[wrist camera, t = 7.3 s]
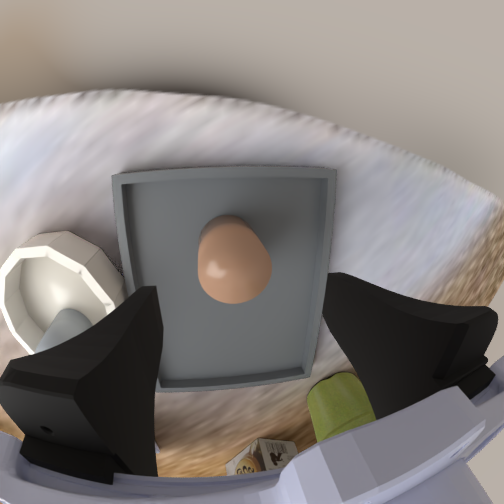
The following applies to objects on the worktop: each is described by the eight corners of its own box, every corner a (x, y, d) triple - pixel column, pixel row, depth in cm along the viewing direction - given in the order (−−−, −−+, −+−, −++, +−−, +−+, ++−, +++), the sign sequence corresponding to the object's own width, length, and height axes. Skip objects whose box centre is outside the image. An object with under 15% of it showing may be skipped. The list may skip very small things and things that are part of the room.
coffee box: (260, 466, 32) (284, 550, 17) (223, 463, 30) (241, 556, 15) (296, 440, 30) (332, 536, 15) (257, 436, 28) (288, 547, 13)
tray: (304, 366, 24) (310, 377, 23) (157, 380, 22) (155, 392, 21) (327, 167, 18) (336, 169, 16) (118, 173, 16) (111, 175, 14)
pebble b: (255, 267, 19) (270, 300, 15) (200, 271, 18) (200, 305, 14) (255, 213, 18) (273, 233, 14) (196, 216, 17) (195, 237, 13)
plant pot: (382, 362, 27) (421, 413, 19) (340, 414, 29) (366, 464, 21) (320, 355, 24) (359, 424, 16) (278, 413, 27) (299, 476, 19)
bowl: (143, 353, 21) (138, 379, 18) (42, 348, 19) (30, 369, 16) (116, 226, 17) (101, 241, 14) (5, 238, 15) (-17, 252, 12)
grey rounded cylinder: (101, 344, 19) (89, 383, 15) (66, 346, 18) (51, 382, 14) (84, 306, 18) (65, 342, 13) (48, 310, 17) (26, 344, 13)
